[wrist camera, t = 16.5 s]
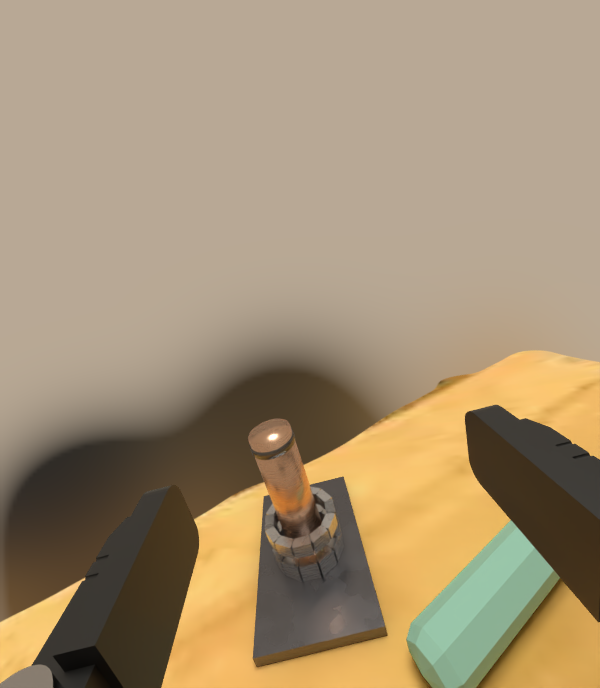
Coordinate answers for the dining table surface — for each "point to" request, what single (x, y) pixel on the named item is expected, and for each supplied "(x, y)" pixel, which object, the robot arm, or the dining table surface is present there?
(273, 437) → the metal tube
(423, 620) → the container
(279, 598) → the stove plate
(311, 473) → the dining table surface
